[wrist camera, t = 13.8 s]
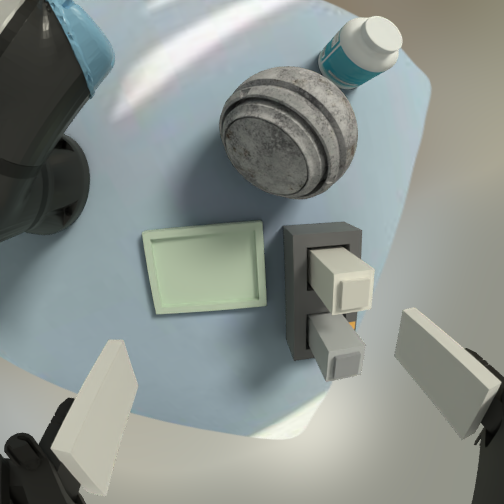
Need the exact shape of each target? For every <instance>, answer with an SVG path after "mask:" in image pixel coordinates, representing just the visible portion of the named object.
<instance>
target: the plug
mask: <svg viewBox="0 0 504 504" xmlns="http://www.w3.org/2000/svg"><path fill="white" fill-rule="evenodd" d="M306 340H307V342H308V345H309V347H310V349H311V351H312V353H313V355H314V357H315V359H316V362H317V364H318V366H319V368H320V370H321V372H322V374H323V377H324V379H325V381H326V382H328V381H333V380H338V379H343V378H348V377H353V376H357V375H361V370H362V364H363V359H364V352H365V346H366V345H365V343H364V342H363V341H362V339H361V338H360V337H359V335H358V334H357V333H356V331H355V330H354V329H353V328H352V326H351V325H350V324H349V322H348V321H347V320H346V318H345V317H344V316H343V315H342V314H338V315H332V314H331V313H330V312H329V311H328V312H320V313H313V314H307V317H306Z"/></svg>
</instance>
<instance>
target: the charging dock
mask: <svg viewBox="0 0 504 504" xmlns="http://www.w3.org/2000/svg"><path fill="white" fill-rule="evenodd" d="M283 234H284V262H285V300H286V340H287V343H288V345H289V348H290V351H291V354H292V357H293V359H294V361H296V360H302V359H309V358H315V357H314V355H313V353H312V351H311V349H310V347H309V345H308V342H307V340H306V317H307V314H313V313H320V312H328V311H329V312H330V313H331V314H332V315H338V314H342V315H343V316H344V317H345V318H346V320H347V321H348V322H349V324H350V325H351V326H352V328H353V329H354V330H355V329H356V320H357V311H363V310H369V309H371V304H372V294H373V283H374V270H375V269H373V268H372V267H371V266H369V265H368V264H366V263H365V262H364V261H362V260H361V245H362V230H361V229H359V228H356V227H354V226H352V225H350V224H348V223H346V222H332V223H316V224H301V225H287V226H283Z"/></svg>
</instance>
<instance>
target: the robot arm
mask: <svg viewBox="0 0 504 504" xmlns="http://www.w3.org/2000/svg"><path fill="white" fill-rule="evenodd" d="M114 62H115V55H114V51H113V48H112V46H111V44H110V42H109V41H108V39H107V38H106V36H105V35H104V33H103V32H102V31H101V29H100V28H99V27H98V26H97V24H96V23H95V22H94V21H93V20H92V19H91V17H90V16H89V15H88V14H87V13H86V12H85V11H84V10H83V9H82V8H81V7H80V6H79V5H76V4H75V3H74V1H73V0H0V242H2V241H4V240H7V239H9V238H11V237H14V236H16V235H19V234H21V233H23V232H27V233H32V234H38V235H50V234H54V233H56V232H59V231H61V230H63V229H65V228H67V227H69V226H70V225H71V224H72V223H73V222H74V221H75V220H76V219H77V218H78V216H79V215H80V213H81V212H82V210H83V208H84V206H85V203H86V200H87V197H88V193H89V185H90V174H89V167H88V162H87V159H86V157H85V154H84V152H83V150H82V149H81V147H80V146H79V145H78V143H77V142H76V141H75V140H73V139H72V138H71V137H69V136H67V135H65V134H64V132H65V131H66V129H67V128H68V126H69V125H70V124H71V122H72V121H73V119H74V118H75V117H76V115H77V114H78V113H79V111H80V110H81V109H82V107H83V106H84V105H85V103H86V102H87V101H88V100H89V99H91V98H92V97H93V96H94V94H95V90H96V89H97V88H98V86H99V85H100V84H101V82H102V81H103V80H104V79H105V77H106V76H107V75H108V74H109V72H110V71H111V70H112V68H113V66H114ZM394 356H395V357H396V359H397V360H398V361H399V362H400V363H401V365H402V366H403V367H404V368H405V369H406V371H407V372H408V373H409V374H410V375H411V377H412V378H413V379H414V380H415V382H416V383H417V384H418V385H419V386H420V388H421V389H422V390H423V391H424V393H425V394H426V395H427V396H428V398H429V399H430V400H431V401H432V402H433V404H434V405H435V406H436V407H437V409H438V410H439V411H440V413H441V414H442V415H443V416H444V417H445V419H446V420H447V421H448V423H449V424H450V425H451V427H452V428H453V429H454V430H455V432H456V433H457V434H458V435H459V437H460V438H461V439H462V440H463V439H465V438H466V437H468V436H470V435H472V434H473V433H475V431H476V430H477V428H478V426H479V425H480V423H482V425H483V426H484V428H483V430H482V431H481V433H480V434H479V436H478V438H477V439H476V441H475V444H474V445H477V443H478V442H479V440H480V439H481V443H480V455H479V464H478V471H477V478H476V484H475V490H474V495H473V500H472V504H504V377H503V376H502V375H501V374H500V373H499V372H498V371H496V370H495V369H494V368H493V367H492V366H491V365H488V363H487V362H486V361H485V360H483V358H482V357H480V356H479V355H478V354H477V353H476V352H474V351H472V350H470V349H467V348H465V349H464V348H462V346H460V345H459V344H458V343H457V342H456V341H455V340H453V339H452V338H451V337H450V336H449V335H447V334H446V333H445V332H444V331H443V330H442V329H440V328H439V327H438V326H437V325H436V324H434V323H433V322H432V321H431V320H429V319H428V318H427V317H426V316H424V315H423V314H422V313H421V312H420V311H418V310H417V309H416V308H410V309H406V310H403V311H402V318H401V324H400V329H399V334H398V340H397V344H396V350H395V354H394ZM137 389H138V383H137V380H136V377H135V374H134V371H133V369H132V365H131V362H130V359H129V356H128V353H127V350H126V347H125V343H124V340H108V342H107V344H106V345H105V347H104V349H103V350H102V352H101V354H100V355H99V357H98V359H97V361H96V362H95V364H94V366H93V368H92V369H91V371H90V373H89V375H88V376H87V378H86V380H85V382H84V384H83V385H82V387H81V389H80V391H79V393H78V395H77V396H76V398H75V399H74V398H67V399H66V400H65V401H64V402H63V403H61V404H60V405H59V407H58V409H57V411H56V413H55V416H53V418H52V420H51V423H50V424H49V426H48V427H47V429H46V431H45V433H44V435H43V437H42V439H41V441H40V443H39V445H38V444H37V442H36V441H35V439H34V438H33V437H32V436H31V435H29V434H26V433H17V434H15V435H13V436H11V437H10V438H9V439H8V440H7V442H6V444H5V447H4V452H5V453H6V454H7V455H8V457H9V458H10V459H8V458H3V457H2V455H1V454H0V504H86V503H85V501H84V499H83V497H82V496H81V494H80V493H79V488H80V485H81V486H82V487H83V488H84V489H85V490H86V491H87V492H88V493H92V494H97V495H102V496H106V494H107V490H108V487H109V483H110V479H111V475H112V472H113V468H114V464H115V461H116V457H117V454H118V450H119V446H120V443H121V440H122V436H123V433H124V429H125V426H126V423H127V420H128V417H129V414H130V410H131V407H132V404H133V401H134V398H135V395H136V392H137Z"/></svg>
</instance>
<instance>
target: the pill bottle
mask: <svg viewBox="0 0 504 504" xmlns="http://www.w3.org/2000/svg"><path fill="white" fill-rule="evenodd" d="M401 46H402V36H401V33H400V32H399V30H398V28H397V27H396V26H395V25H394V24H393V23H392V22H391V21H389V20H387V19H385V18H383V17H379V16H373V17H370V18H355V19H352V20H350V21H348V22H347V23H346V24H345V25H344V26H343V27H342V28H341V29H340V31H339V32H338V33H337V34H336V35H335V36H334V37H333V38H332V40H331V41H330V42H329V43H328V44H327V45H326V46H325V47H324V49H323V50H322V51H321V53H320V55H319V59H318V65H319V69H320V71H321V73H322V75H323V76H324V77H326V78H327V79H329V80H330V81H331V82H333V83H334V84H335V85H336V86H337V87H339V88H342V89H353V88H356V87H358V86H360V85H362V84H363V83H365V82H367V81H368V80H370V79H372V78H374V77H375V76H377V75H379V74H381V73H383V72H384V71H386V70H388V69H390V68H391V67H392V66H393V65H394V64H395V63H396V61H397V59H398V50H399V49H400V47H401Z"/></svg>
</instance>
